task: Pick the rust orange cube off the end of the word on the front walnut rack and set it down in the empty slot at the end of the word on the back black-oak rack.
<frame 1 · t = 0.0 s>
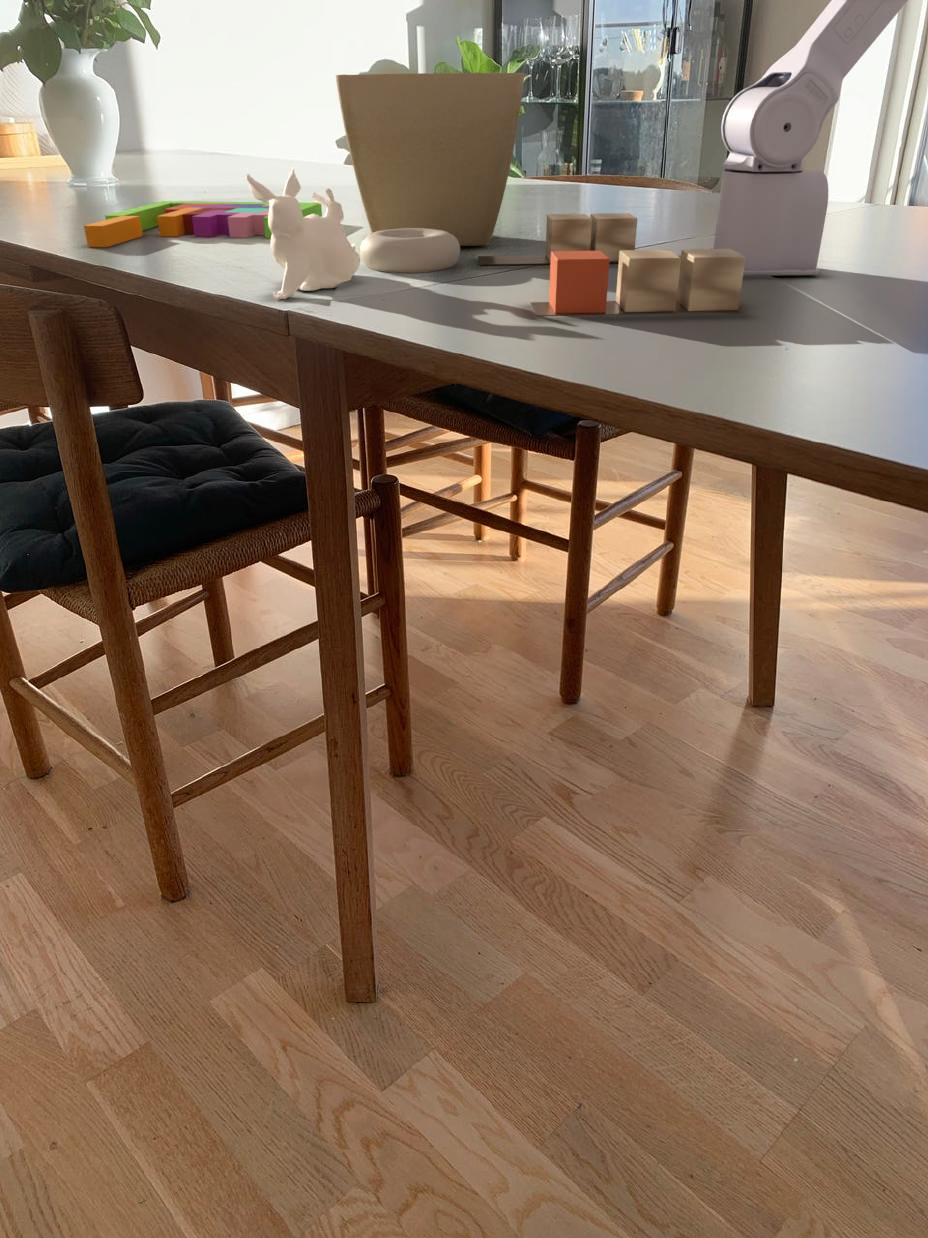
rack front: (632, 311, 73), on the table
rabbit figurine: (304, 287, 84), on the table
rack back: (557, 262, 94), on the table
toy blocks: (206, 234, 115), on the table
flower pot: (429, 243, 107), on the table
rust orange cube: (576, 307, 73), resting on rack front
donut: (411, 270, 92), on the table
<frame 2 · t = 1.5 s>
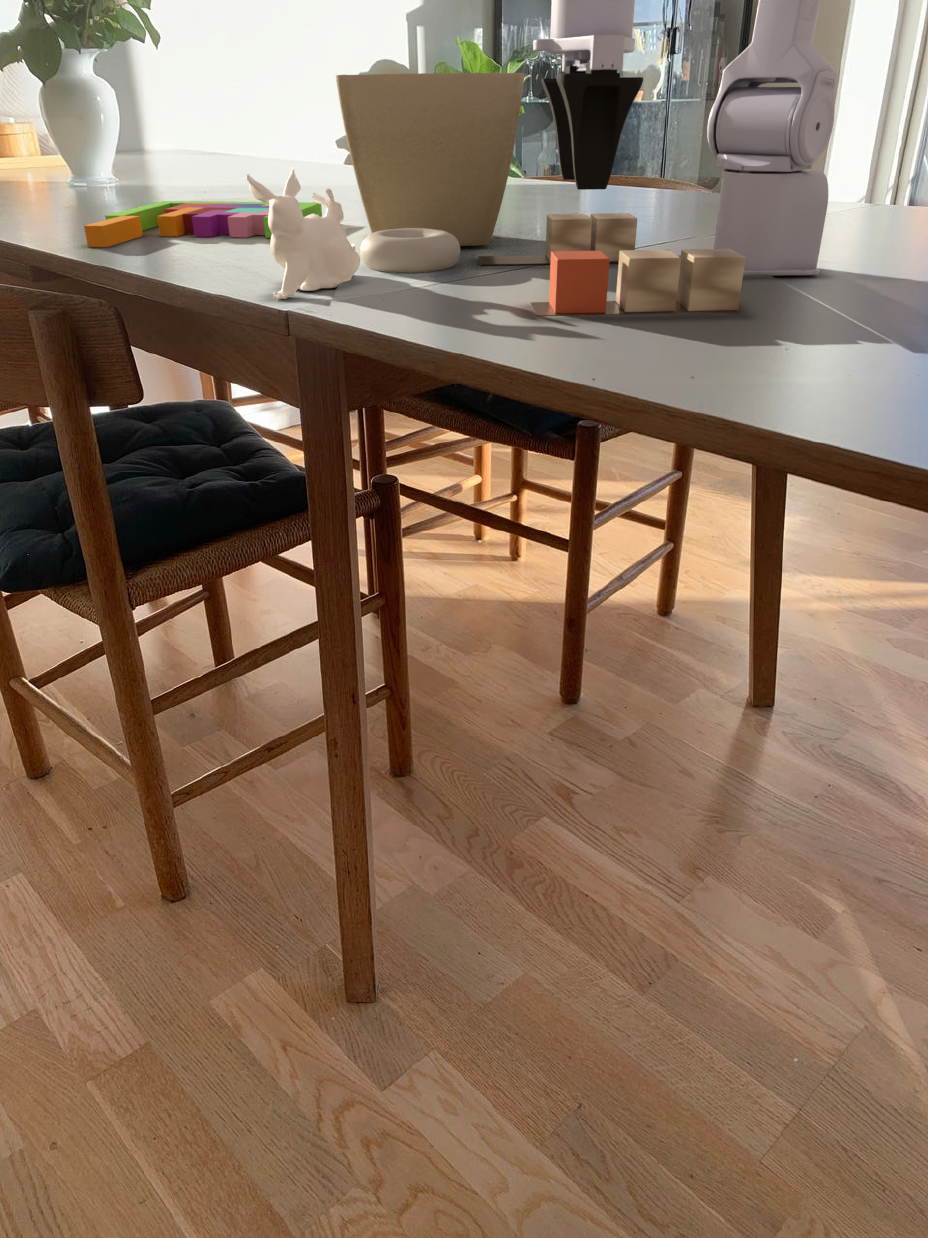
hand: (583, 183, 69), 9 cm above the table, tool pointing down, fingers open, 7 cm apart
nothing on the table moved.
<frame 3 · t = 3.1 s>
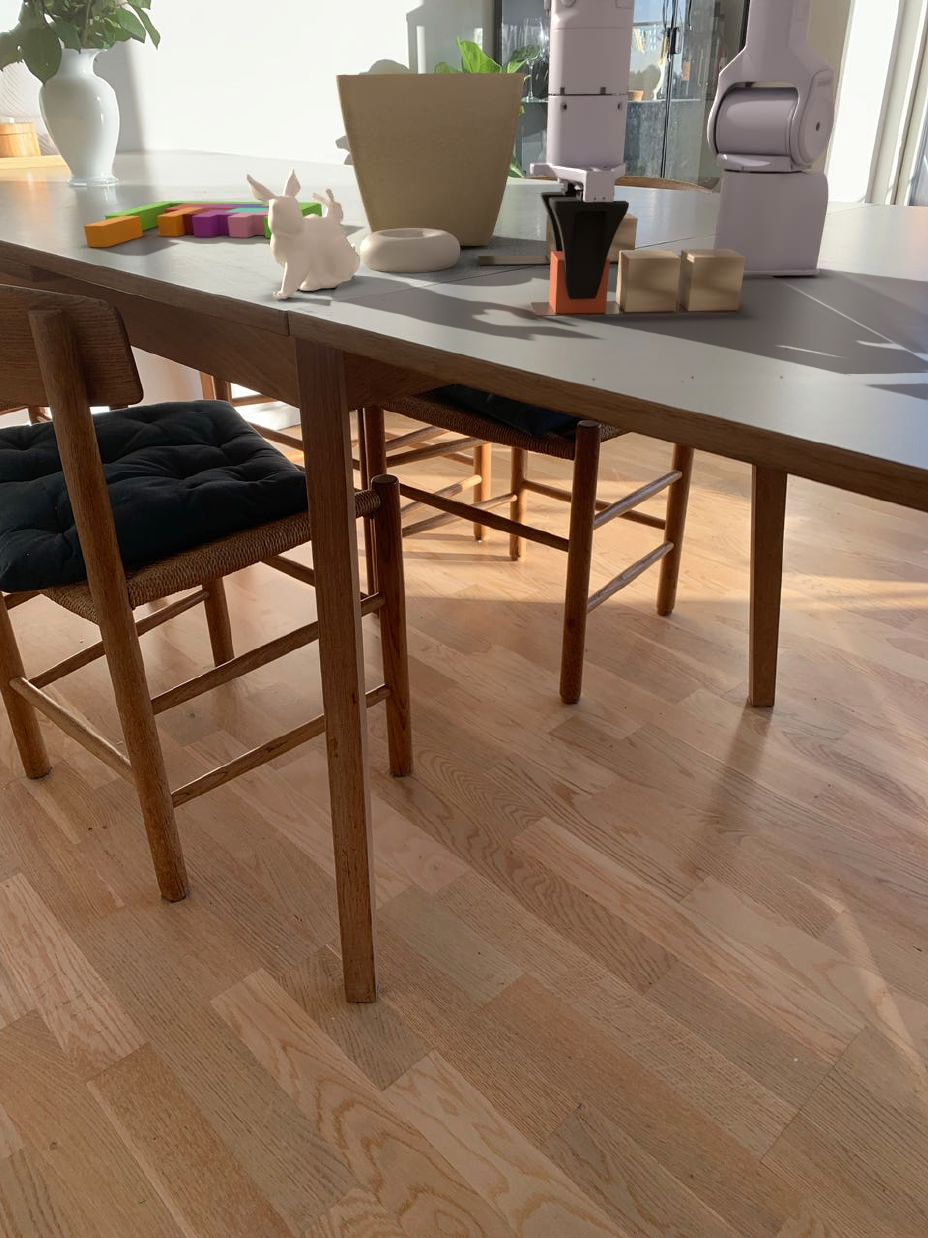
hand: (577, 292, 73), 2 cm above the table, tool pointing down, fingers closed on rust orange cube, 4 cm apart
rust orange cube: (576, 307, 73), resting on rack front, touching gripper
everything else where it was.
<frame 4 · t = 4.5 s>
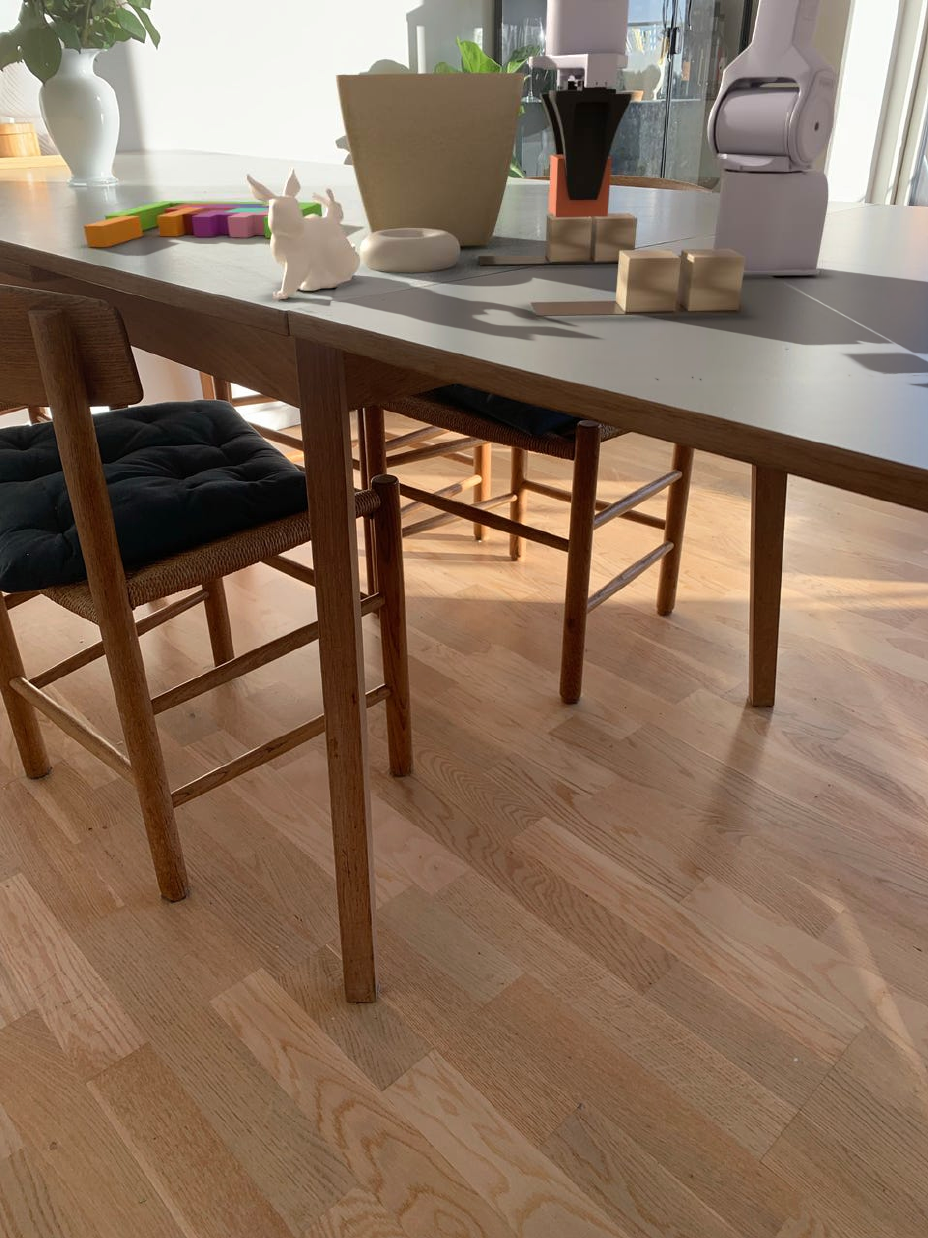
hand: (578, 196, 70), 8 cm above the table, tool pointing down, fingers closed on rust orange cube, 4 cm apart
rust orange cube: (577, 213, 71), point 7 cm above the table, touching gripper
everything else where it was.
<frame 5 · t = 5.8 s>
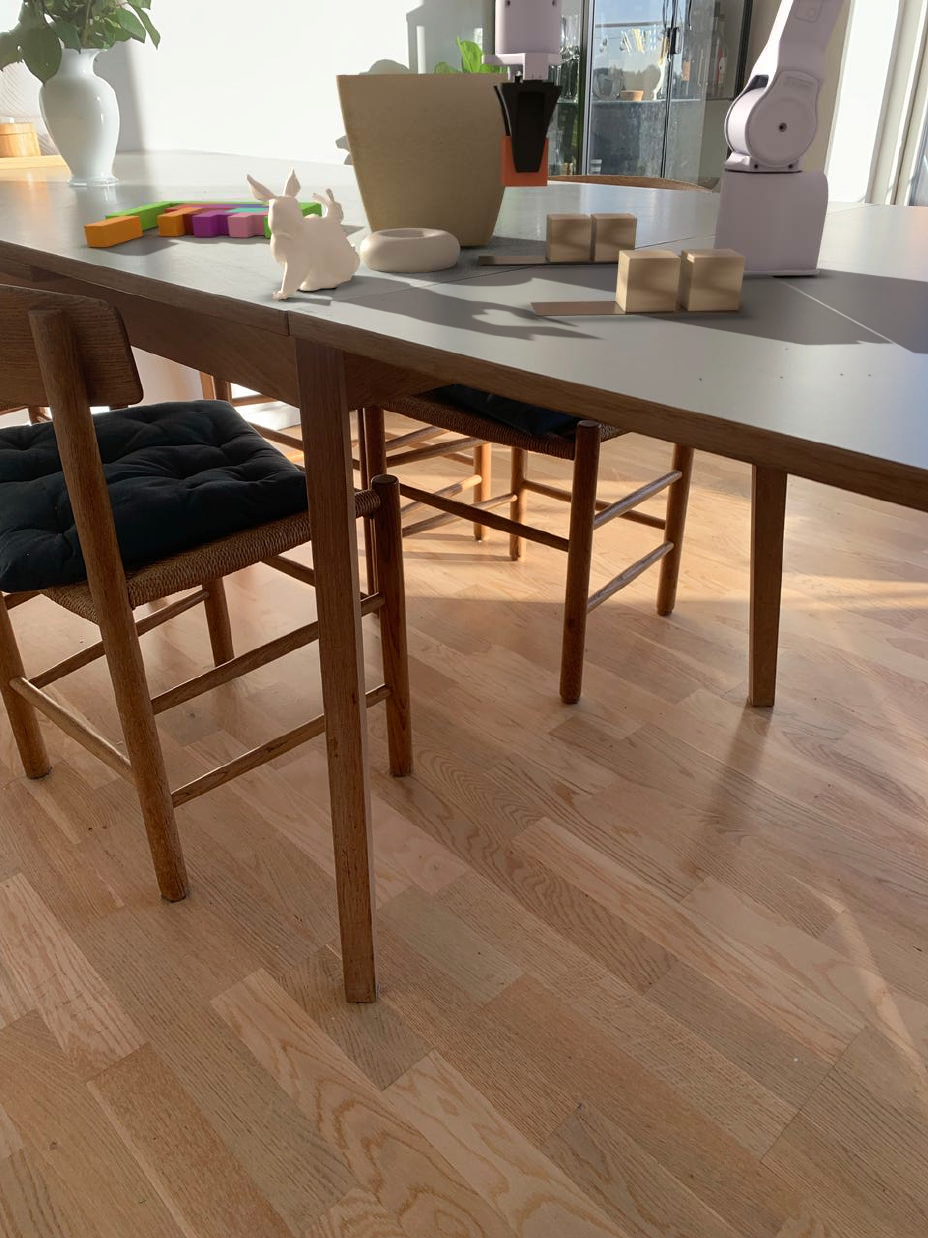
hand: (524, 170, 85), 9 cm above the table, tool pointing down, fingers closed on rust orange cube, 4 cm apart
rust orange cube: (523, 184, 86), point 8 cm above the table, touching gripper
everything else where it was.
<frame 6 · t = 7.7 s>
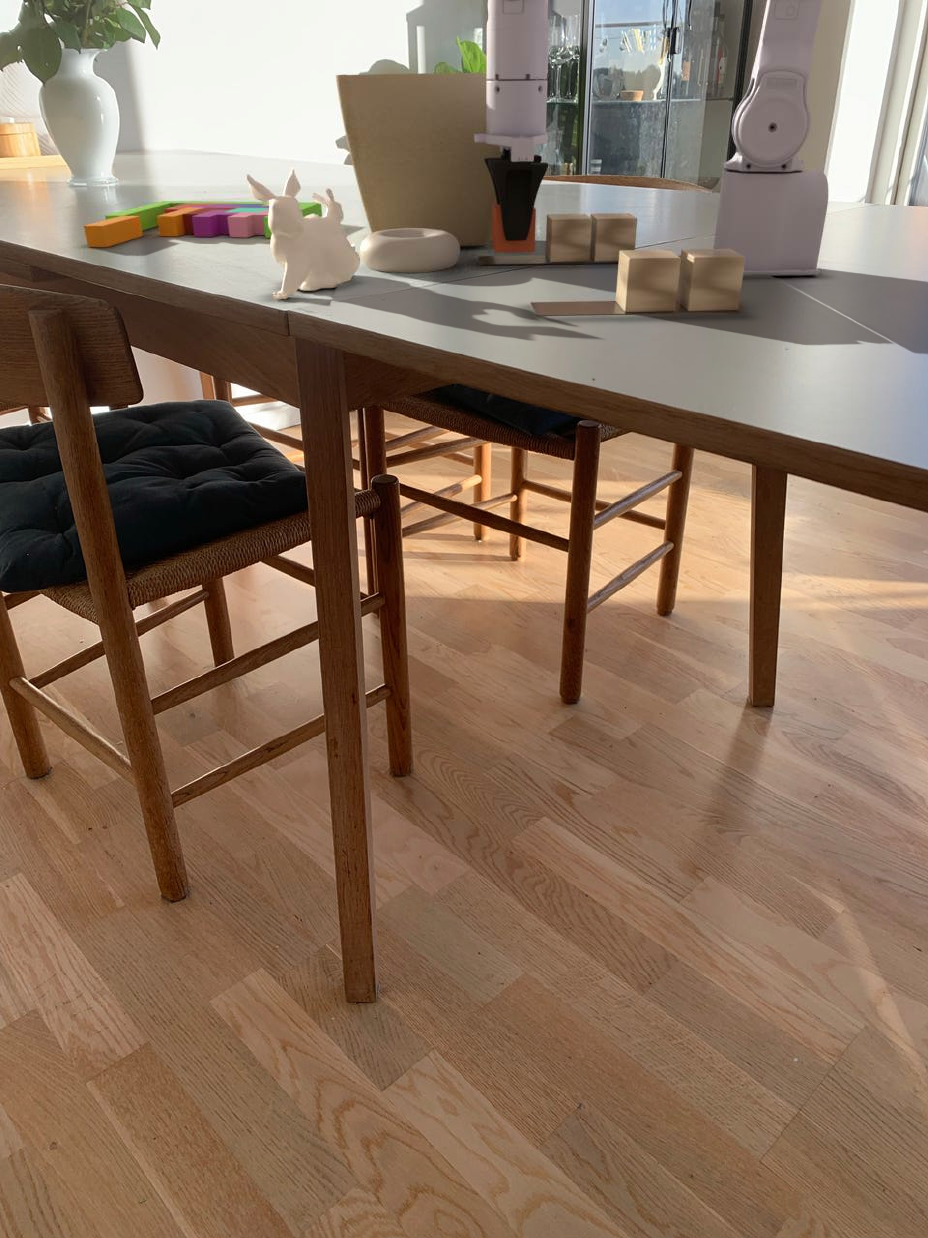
hand: (513, 236, 92), 3 cm above the table, tool pointing down, fingers closed on rust orange cube, 4 cm apart
rust orange cube: (512, 249, 93), point 1 cm above the table, touching gripper
everything else where it was.
when the fingers open (2 cm above the table, at t = 8.4 s): rust orange cube stays where it is, resting on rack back.
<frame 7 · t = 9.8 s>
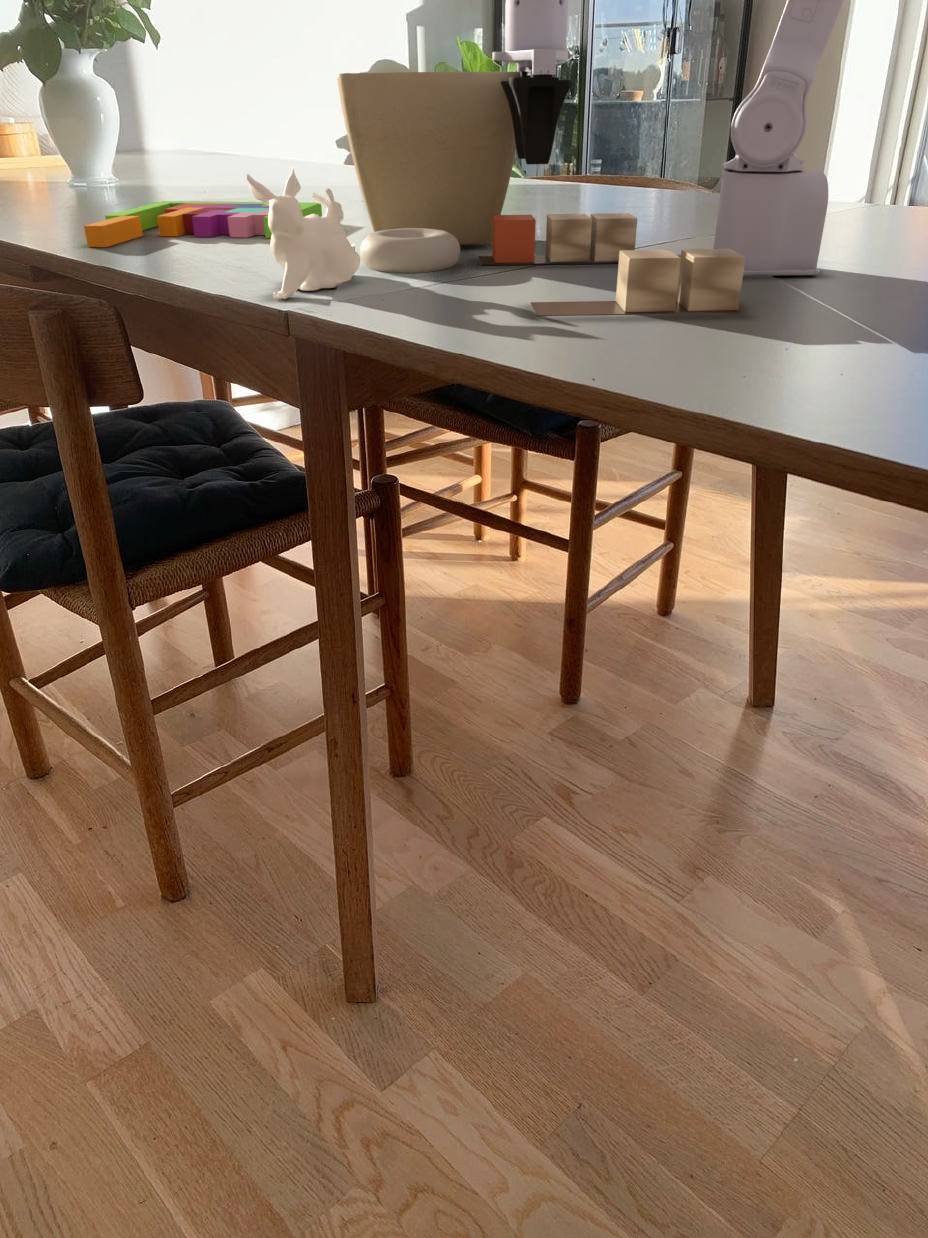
hand: (532, 161, 90), 9 cm above the table, tool pointing down, fingers open, 7 cm apart
flower pot: (430, 242, 107), on the table, touching gripper
rust orange cube: (512, 259, 93), resting on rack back
everything else where it was.
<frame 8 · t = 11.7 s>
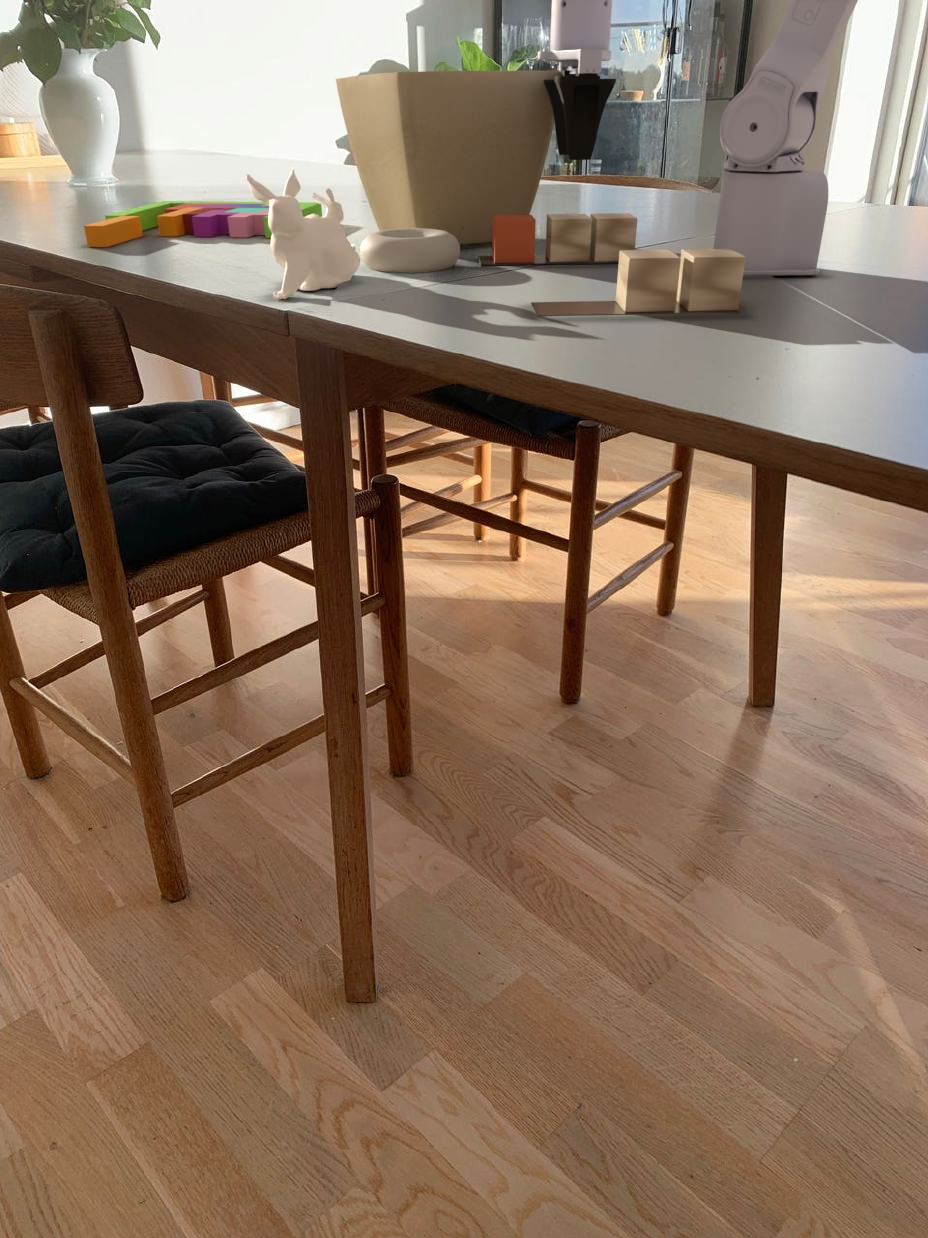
hand: (574, 156, 93), 9 cm above the table, tool pointing down, fingers open, 7 cm apart
flower pot: (448, 241, 107), on the table, touching gripper
everything else where it was.
at the end: rust orange cube 0.1 cm from the target spot on the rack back, point 0.4 cm above the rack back's base; rust orange cube tilted 0°; the gripper is holding nothing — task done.
